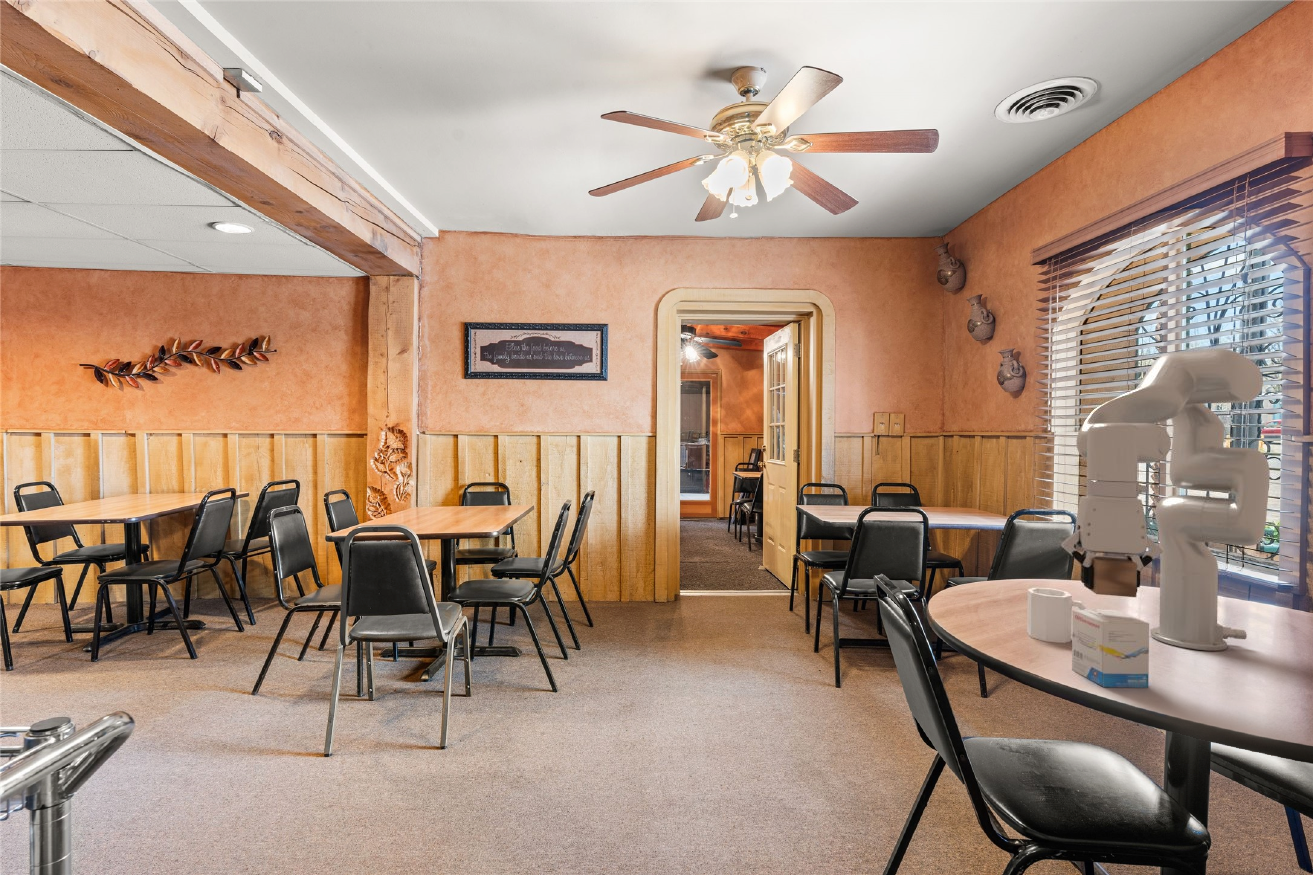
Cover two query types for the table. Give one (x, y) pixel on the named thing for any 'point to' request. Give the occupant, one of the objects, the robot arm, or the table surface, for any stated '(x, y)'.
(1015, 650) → the table surface
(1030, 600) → the mug
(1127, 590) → the walnut cube
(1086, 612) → the ink box
